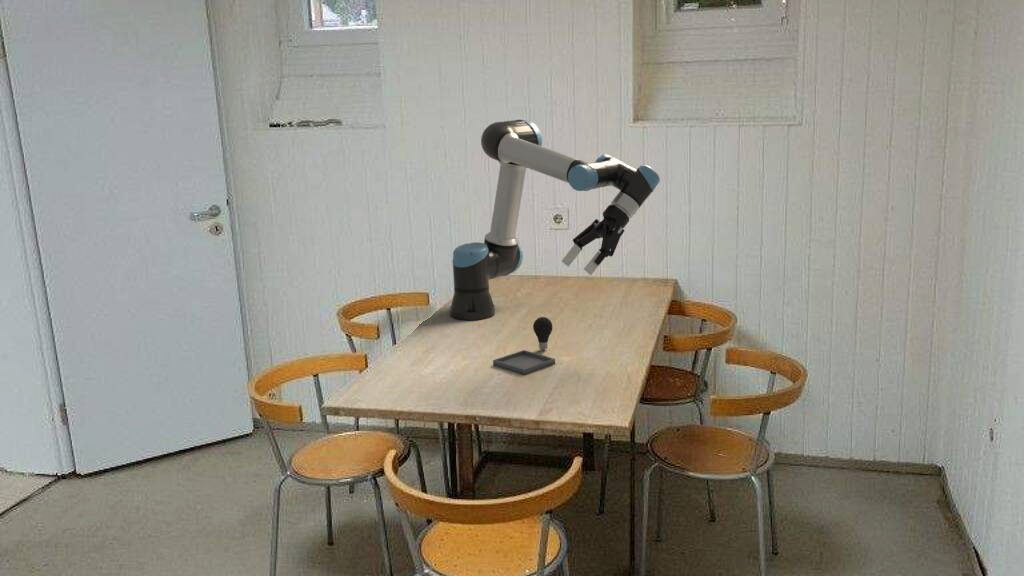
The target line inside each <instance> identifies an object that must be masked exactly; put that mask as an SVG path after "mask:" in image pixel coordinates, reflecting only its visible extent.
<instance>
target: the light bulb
mask: <svg viewBox="0 0 1024 576" xmlns="http://www.w3.org/2000/svg"><path fill="white" fill-rule="evenodd" d="M532 327H533V332H534V334H535V335H536V337H537V341H538V348H539V349H540V350H541V351H542V352H543V351H546V350H547V349H548V343H549V337H550V336H551V334H552V331H553V323H552V321H551V319H549V318H548V317H546V316H540V317H538V318H537V319H535V321H534V323H533V326H532Z"/></svg>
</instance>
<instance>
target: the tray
mask: <svg viewBox="0 0 1024 576" xmlns="http://www.w3.org/2000/svg"><path fill="white" fill-rule="evenodd" d="M553 364H554V365H556V358H553V357H550V356H545V355H543V354H538V353H536V352H533V351H529V350H525V349H524V350H519V351H516V352H514V353H511V354H508V355H504V356H502V357H499V358H495V359H493V360H492V366H493V367H494V366H495V367H498V368H501V369H504V370H507V371H511V372H513V373H517V374H520V375H523V376H526V375H527V374H528V375H529V374H531V373H534V372H536V371H539V370H543V369H546V368H548V367H551V366H554V365H553Z"/></svg>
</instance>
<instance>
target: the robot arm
mask: <svg viewBox="0 0 1024 576" xmlns="http://www.w3.org/2000/svg"><path fill="white" fill-rule="evenodd" d="M480 139H481V140H480V145H481V149H482V150H483V153H485V154H486V155H487V156H488V157H489V158H491V159H492V160H496V161H498V163H499V164H500V166H499V171H498V179H497V185H496V191H495V198H494V199H495V200H494V205H493V212H492V219H491V224H490V230H489V232H488V233H486V234H485V235H484V242H479V241H478V242H470V243H464V244H461V245H459V246H457V247H456V248H454V250H453V253H452V269H453V270H452V272H453V287H454V288H453V289H454V290H453V297H452V300H451V305H450V306H449V316H450V317H451V318H453V319H455V320H456V319H457V320H462V321H463V320H466V321H474V320H475V321H477V320H484V319H489V318H491V317H494V316H495V315H496V308H495V307H496V306H495V304H494V301H493V298H492V296H491V293H490V281H489V280H492V279H493V280H494V279H496V278H500V277H505V276H509V275H510V274H513V273H515V272H516V271H517V270H518V269H520V267H521V265H522V262H523V259H524V256H523V255H524V254H523V250H521V249H522V247H521V245H520V244H519V243H520V241H519V239H518V237H517V236H516V232H517V226H518V220H519V215H520V208H521V202H522V196H523V191H524V184H525V179H526V172H527V169H529V170H533V171H535V172H538V173H541V174H543V175H546V176H548V177H551V178H554V179H557V180H560V181H562V182H565V183H568V184H569V186H570V187H571V189H572V190H575V191H577V192H588V191H591V190H595V189H600V188H605V187H610V186H611V187H613V188H616V189H618V192H617V195H615V197H613V199H612V201H611V203H610V204H609V205H608V206H607V207H606V209H605V210H604V211H603V213H602V217H603V219H602V220H601V221H600V220H599V219H597V218H596V219H594V221H593V222H592V223H591V224H590V225H589V226H587V227H586V228H585V229H583V230H582V231H581V232H580V233H579V234H578V235H576V236H575V237H573V239H572V242H573V245H572V247H571V248H570V250H568V252H567V253H566V254H565V256H564V257H563V258H562V260H561V262H562V263H563V264H564V265H565V266H566V267H568V268H569V267H570V266H571V264H572V263H573V262H574V261H575V260H576V258H577V257H578V255H579V254H580V253H581V252H582V251H583V247H585V246H587V245H588V244H590V243H591V242H593V241H595V240H597V239H598V240H599V239H602V240H601V245H600V248H599V249H598V251H596V253H595V254H594V255H593V257H592V258H591V259H590V260H589V262H588V263H587V264H586V265H585V267H583V270H585V272H586V273H587V274H588V275H590V276H592V275H593V273H594V272H595V271H596V270H597V269H598V267H599V266H600V265H601V263H602V262H603V261H604V260H605V259H606V258H608V257H613V256H614V253H615V251H616V248H617V247H618V243H619V241H620V240H621V237H622V235H623V234H624V232H625V227H626V226H627V225H628V223H629V222H630V219H632V218H633V217H634V215H636V214H637V212H638V210H639V209H640V208H641V206H642V205H644V203H645V201H647V199H648V198H649V196H651V194H652V193H653V192H654V190H655V189H656V188H657V186H658V184H659V183H660V182H661V180H660V179H661V178H660V176H659V174H658V172H657V171H656V170H654V168H652V167H651V166H649V165H646V164H641V165H639V167H637V168H634V167H632V166H631V165H628V164H626V163H624V162H623V161H621V160H619V159H618V158H617V157H614V156H612V155H610V154H607V153H606V154H602V155H600V156H599V157H597V159H596V160H595V161H594V162H587V161H586V160H585V161H584V160H581V159H579V158H576V157H573V156H571V155H567V154H565V153H563V152H562V153H561V152H559V151H556V150H553V149H551V148H547V147H544V146H543V136H542V133H541V130H540V129H539V127H538V126H537V124H536V123H535V122H533V121H531V120H529V119H515V120H507V121H496V122H493V123H490V124H489V125H488V126H487V127H486V128H485V129H484V130H483V132H482V134H481V138H480Z"/></svg>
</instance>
